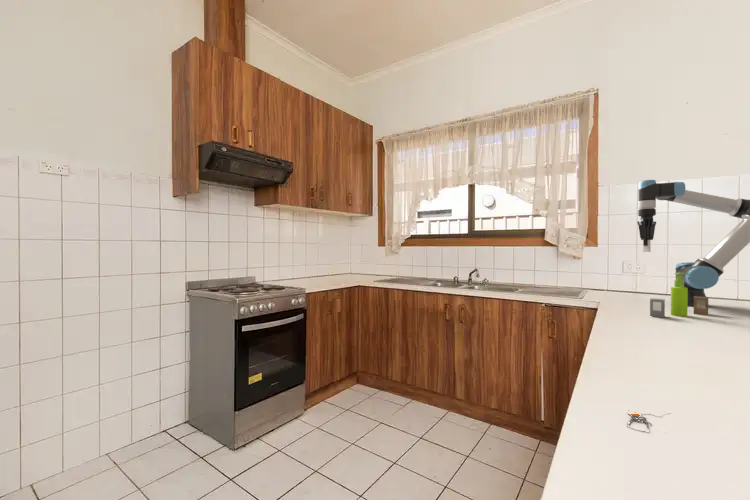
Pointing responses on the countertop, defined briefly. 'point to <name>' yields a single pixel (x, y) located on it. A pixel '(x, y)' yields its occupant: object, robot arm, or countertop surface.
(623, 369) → the countertop surface
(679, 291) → the soap dispenser
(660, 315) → the grey rectangular block
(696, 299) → the brown wooden block
